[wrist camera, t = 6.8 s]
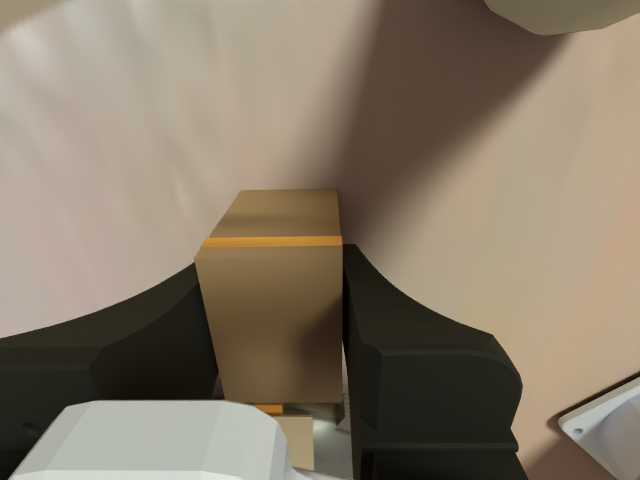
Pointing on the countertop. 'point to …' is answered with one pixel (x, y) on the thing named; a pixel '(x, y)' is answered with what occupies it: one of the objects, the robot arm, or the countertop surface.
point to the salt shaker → (564, 14)
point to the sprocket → (316, 434)
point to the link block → (276, 296)
